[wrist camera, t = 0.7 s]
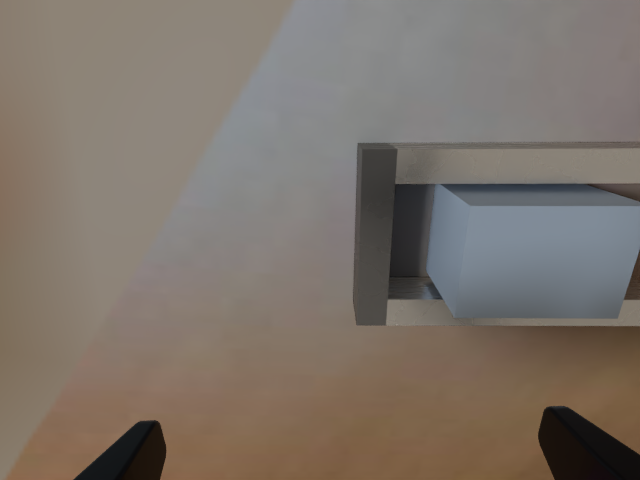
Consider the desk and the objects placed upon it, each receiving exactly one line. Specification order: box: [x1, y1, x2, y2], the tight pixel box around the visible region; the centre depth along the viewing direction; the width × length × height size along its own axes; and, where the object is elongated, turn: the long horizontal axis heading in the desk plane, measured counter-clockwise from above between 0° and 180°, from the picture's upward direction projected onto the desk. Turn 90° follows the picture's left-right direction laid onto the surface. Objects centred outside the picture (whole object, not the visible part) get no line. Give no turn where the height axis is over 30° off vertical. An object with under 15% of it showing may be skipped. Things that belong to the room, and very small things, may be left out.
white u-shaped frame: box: [353, 142, 640, 326], centre depth 19 cm, size 16×9×2 cm, turn 90°
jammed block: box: [426, 184, 640, 319], centre depth 18 cm, size 7×5×5 cm
